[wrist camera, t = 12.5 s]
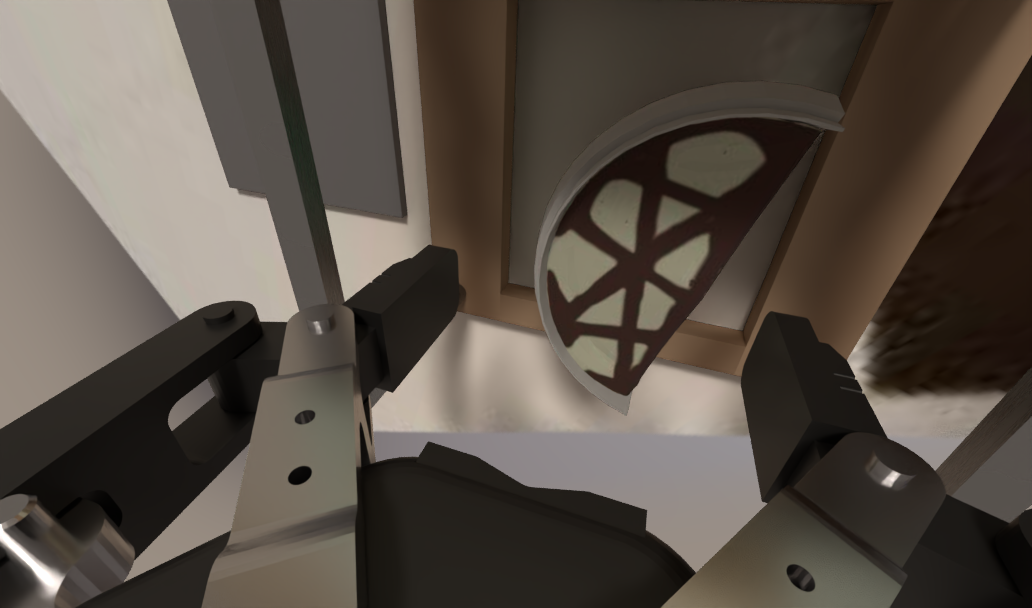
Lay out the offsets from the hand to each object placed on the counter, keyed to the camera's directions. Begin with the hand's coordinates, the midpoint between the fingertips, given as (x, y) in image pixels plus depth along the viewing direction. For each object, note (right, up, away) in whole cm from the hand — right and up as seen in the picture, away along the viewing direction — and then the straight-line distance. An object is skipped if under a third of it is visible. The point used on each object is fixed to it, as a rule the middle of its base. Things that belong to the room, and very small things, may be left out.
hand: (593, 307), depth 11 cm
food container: (+4, +6, +10) cm, 13 cm away
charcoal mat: (-15, +13, +14) cm, 25 cm away
